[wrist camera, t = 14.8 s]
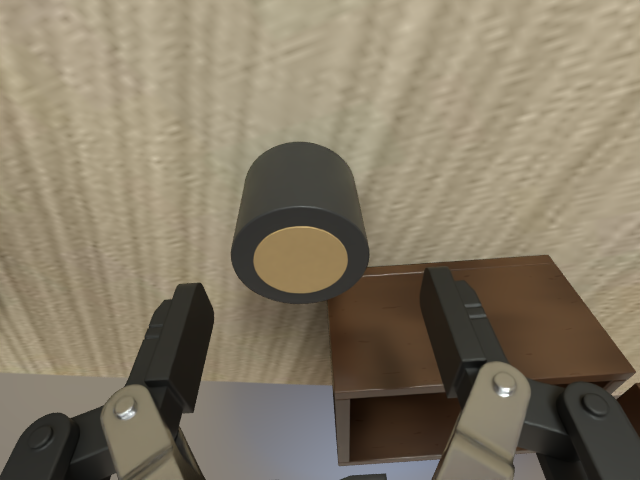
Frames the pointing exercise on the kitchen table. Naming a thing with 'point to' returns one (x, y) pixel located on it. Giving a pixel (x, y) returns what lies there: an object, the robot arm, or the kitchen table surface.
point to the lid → (632, 406)
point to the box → (419, 361)
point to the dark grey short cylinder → (299, 226)
